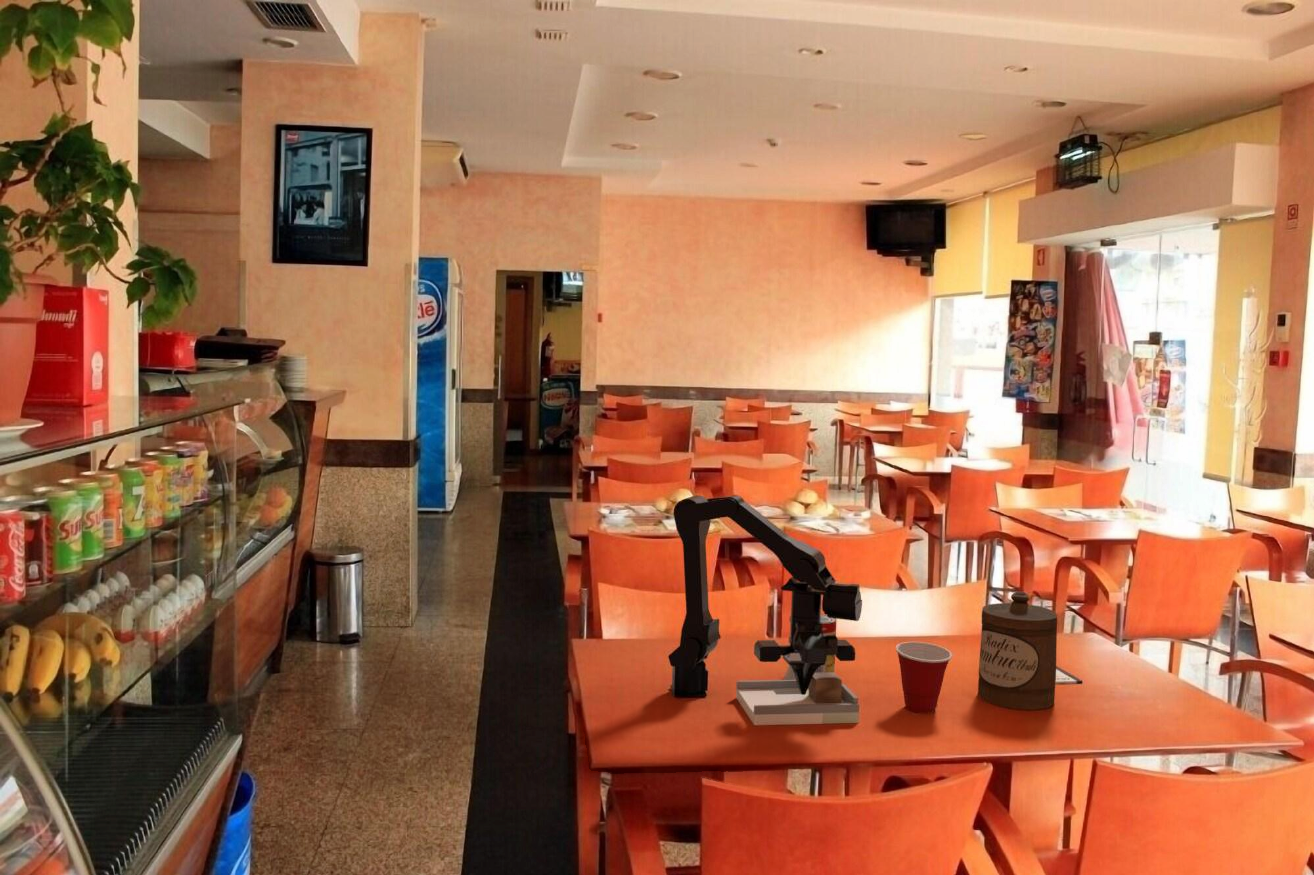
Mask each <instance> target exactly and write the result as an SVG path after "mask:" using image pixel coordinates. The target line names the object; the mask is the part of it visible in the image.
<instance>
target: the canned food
mask: <svg viewBox="0 0 1314 875" xmlns="http://www.w3.org/2000/svg"><path fill="white" fill-rule="evenodd" d="M837 621H838V620H837V619H836V618H828V616H827V614H822V613H821V623H822V632H823V636H827V635H836V636H837ZM835 664H836V655H827V660H826V663H825V665H821V666H820V667H818V668H817V670H816V671H815V673H829V672H834V673H835V668H836V666H835Z"/></svg>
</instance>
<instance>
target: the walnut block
mask: <svg viewBox="0 0 1314 875" xmlns="http://www.w3.org/2000/svg"><path fill="white" fill-rule="evenodd" d="M842 682H843V680H842V678H840V677H839V676H838V675H837V673H835V672H829V673H814V675H813V677H812V679H811V682H810V684H809V696H810V697H811V699H812V700H813V701H814V702H815V703H841V689H842Z"/></svg>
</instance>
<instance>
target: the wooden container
mask: <svg viewBox="0 0 1314 875" xmlns="http://www.w3.org/2000/svg"><path fill="white" fill-rule="evenodd" d="M1010 598H1011V601H1012V602H1011V603H1010V602H1006V603H1005V602H1003V603H990V604H986V605H984V606H982V609H981V632H980V636H981V637H980V649H979V660H978V665H979V666H978V682H977V683H978V687H977V695H978V697H979V698H980V699H982V700H983V701H984V702H986V703H988V702H989V703H988V704H991V705H994V706H997V705H998V706H997V707H1002V708H1005V707H1006V709H1012V710H1022V711H1023V710H1025V711H1028V710H1029V711H1034V710H1035V711H1037V710H1043V709H1047V708H1051V707H1053V705H1055V699H1056V696H1055V695H1056V684H1055V682H1056V666H1057V643H1058V642H1057V641H1058V640H1057V639H1058V638H1057V637H1058V634H1057V633H1058V613H1057V612H1056V611H1054V610H1052V609H1050V608H1046V607H1043V606H1038V605H1035V604H1034V605H1033V604H1029V603H1028V602H1029V600H1030V595H1029V594H1028V593H1026V592H1024V591H1022V590H1021V591H1020V590H1019V591H1015V592H1014V593H1012V594H1011V596H1010Z"/></svg>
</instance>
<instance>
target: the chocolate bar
mask: <svg viewBox="0 0 1314 875" xmlns="http://www.w3.org/2000/svg"><path fill="white" fill-rule="evenodd" d="M1071 684H1072V685H1074V684H1076V685H1077V684H1083V680H1082V679H1079V677H1076V676H1074V675H1073V674H1072V673H1070V672H1068V671H1066V670H1065V669H1062V668H1061V667H1059V666H1057V665H1056V682H1055V685H1071Z"/></svg>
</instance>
